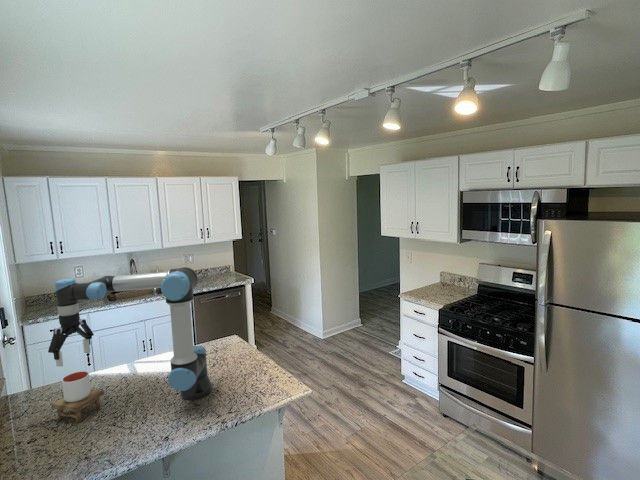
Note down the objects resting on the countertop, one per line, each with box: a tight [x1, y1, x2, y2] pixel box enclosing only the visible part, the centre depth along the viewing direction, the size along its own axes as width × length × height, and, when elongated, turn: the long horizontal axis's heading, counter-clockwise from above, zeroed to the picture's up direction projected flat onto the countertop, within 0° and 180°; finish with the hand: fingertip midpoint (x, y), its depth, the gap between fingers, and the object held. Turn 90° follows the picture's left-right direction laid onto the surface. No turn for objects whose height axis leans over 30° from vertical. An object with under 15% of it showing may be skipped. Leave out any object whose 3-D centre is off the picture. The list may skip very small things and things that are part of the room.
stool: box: [51, 388, 105, 424], centre depth 161 cm, size 14×14×8 cm
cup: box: [61, 371, 91, 402], centre depth 160 cm, size 10×10×10 cm
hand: (74, 359), depth 158 cm, fingers open, 13 cm apart
